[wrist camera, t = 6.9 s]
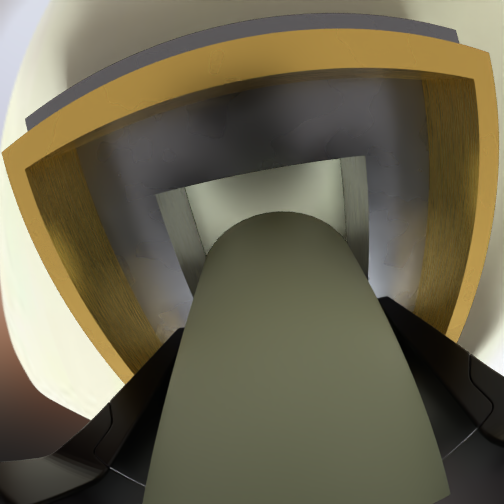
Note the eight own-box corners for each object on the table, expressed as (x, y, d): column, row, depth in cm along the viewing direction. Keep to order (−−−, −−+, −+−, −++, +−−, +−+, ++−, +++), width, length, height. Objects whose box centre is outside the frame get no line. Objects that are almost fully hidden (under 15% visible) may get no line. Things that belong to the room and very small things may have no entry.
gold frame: (415, 40, 8) (504, 22, 3) (413, 321, 17) (448, 391, 11) (68, 110, 10) (-25, 132, 5) (172, 358, 19) (153, 432, 13)
